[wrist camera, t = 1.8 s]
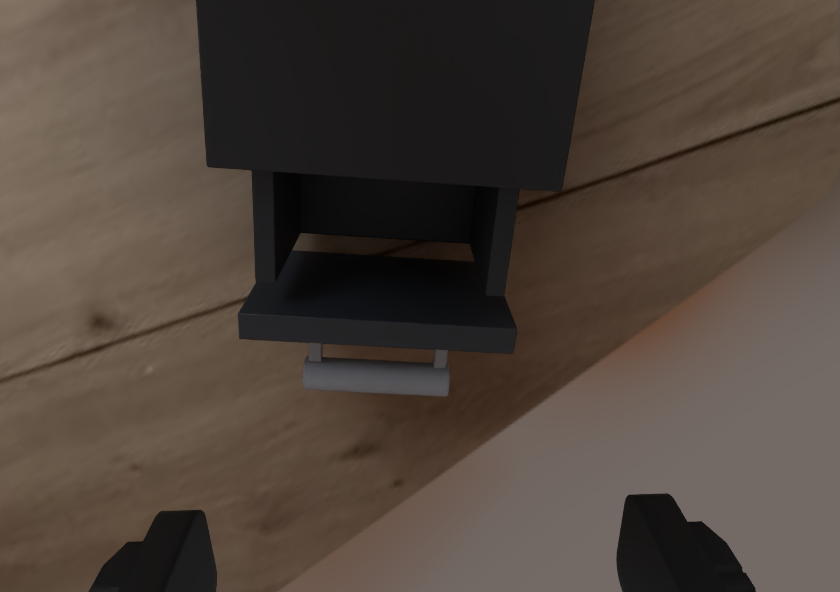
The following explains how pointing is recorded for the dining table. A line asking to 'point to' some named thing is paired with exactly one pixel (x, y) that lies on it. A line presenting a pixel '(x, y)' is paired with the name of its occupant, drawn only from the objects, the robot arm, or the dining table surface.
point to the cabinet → (394, 88)
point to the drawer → (380, 277)
